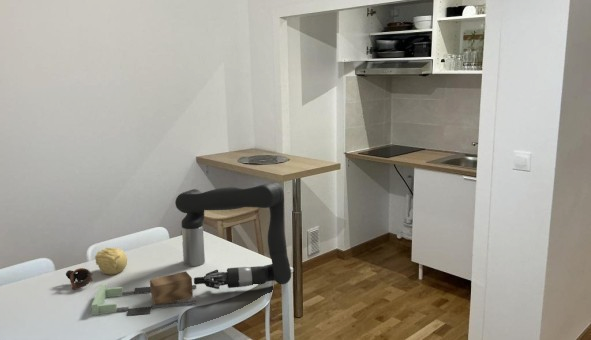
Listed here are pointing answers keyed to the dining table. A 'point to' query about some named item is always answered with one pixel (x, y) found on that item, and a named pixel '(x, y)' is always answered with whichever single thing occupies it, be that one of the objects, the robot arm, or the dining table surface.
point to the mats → (141, 309)
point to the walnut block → (171, 288)
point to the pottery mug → (79, 277)
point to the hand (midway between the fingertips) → (194, 281)
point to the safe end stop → (100, 298)
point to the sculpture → (111, 260)
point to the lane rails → (159, 304)
